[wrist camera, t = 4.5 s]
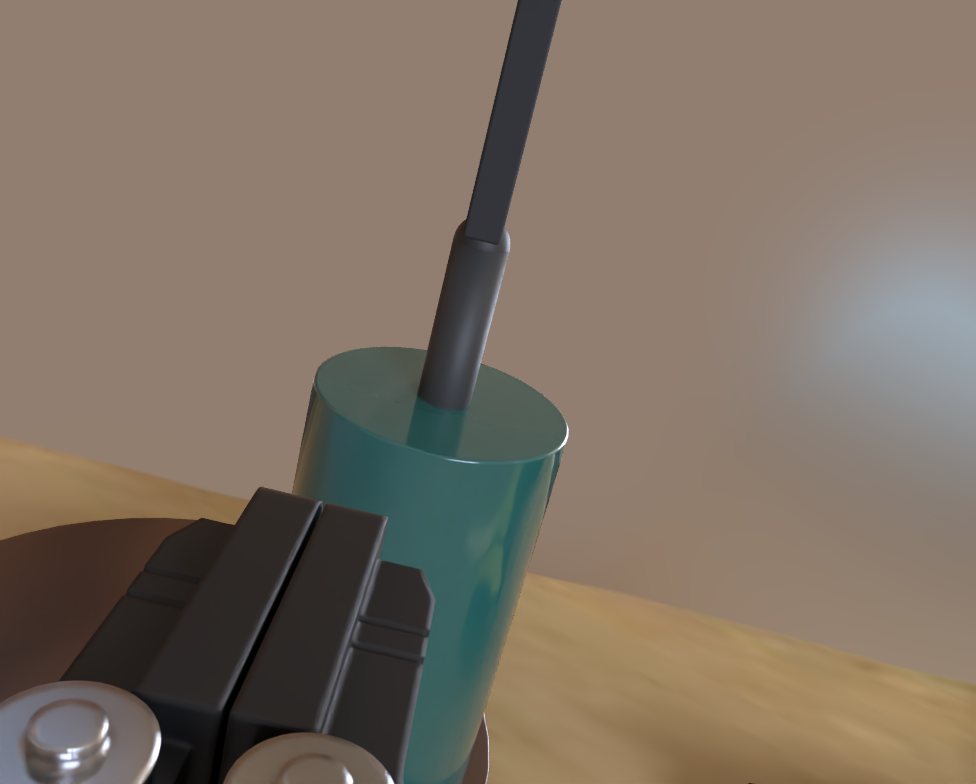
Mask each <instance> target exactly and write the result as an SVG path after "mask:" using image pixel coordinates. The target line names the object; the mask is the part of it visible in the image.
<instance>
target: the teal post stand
mask: <svg viewBox="0 0 976 784" xmlns="http://www.w3.org/2000/svg"><path fill="white" fill-rule="evenodd" d="M561 1H562V0H518V3H517V7H516V12H515V16H514V20H513V24H512V28H511V33H510V37H509V41H508V46H507V50H506V54H505V58H504V63H503V67H502V71H501V75H500V79H499V84H498V88H497V92H496V96H495V100H494V105H493V109H492V113H491V117H490V122H489V126H488V130H487V134H486V139H485V143H484V148H483V151H482V155H481V160H480V164H479V168H478V173H477V177H476V181H475V186H474V189H473V194H472V198H471V202H470V207H469V211H468V215H467V219H466V220H464V221H463V222H462V223H461V224H460V225H459V226H458V229H457V230H456V232H455V235H454V238H453V243H452V247H451V252H450V255H449V260H448V264H447V268H446V273H445V278H444V282H443V285H442V290H441V294H440V298H439V303H438V307H437V311H436V316H435V320H434V324H433V328H432V333H431V337H430V341H429V346H428V350H421V349H413V348H401V347H369V348H360V349H354V350H349V351H346V352H342V353H339V354H336V355H334V356H332V357H330V358H328V359H327V360H325V361H324V362H323V363H322V364H321V365H320V366H319V367H318V368H317V370H316V372H315V374H314V379H313V383H312V389H311V395H310V400H309V406H308V411H307V416H306V421H305V427H304V432H303V437H302V443H301V448H300V454H299V459H298V464H297V470H296V475H295V480H294V486H293V492H292V494H294V495H298V496H302V497H306V498H310V499H315V500H319V501H322V502H323V509H324V507H325V505H326V503H332V504H337V505H341V506H345V507H349V508H353V509H358V510H362V511H366V512H370V513H374V514H379V515H383V516H387V517H388V524H387V529H386V534H385V538H384V543H383V547H382V552H381V556H380V560H383V561H388V562H392V563H396V564H400V565H405V566H409V567H413V568H417V569H422V570H423V572H424V574H425V577H426V579H427V581H428V584H429V586H430V588H431V591H432V593H433V596H434V598H435V600H436V601H435V606H434V611H433V617H432V622H431V627H430V632H429V636H428V643H427V648H426V653H425V658H424V663H423V669H422V675H421V680H420V685H419V690H418V696H417V701H416V706H415V711H414V717H413V722H412V727H411V732H410V738H409V743H408V748H407V753H406V759H405V764H404V772H403V783H404V784H487V780H488V774H489V738H488V732H487V727H486V721H485V715H484V712H485V708H486V705H487V702H488V698H489V695H490V692H491V689H492V685H493V682H494V679H495V675H496V672H497V669H498V666H499V662H500V659H501V656H502V653H503V649H504V646H505V643H506V639H507V636H508V633H509V630H510V626H511V623H512V620H513V616H514V613H515V610H516V607H517V603H518V600H519V597H520V594H521V590H522V587H523V584H524V580H525V577H526V574H527V571H528V567H529V564H530V561H531V557H532V554H533V551H534V548H535V544H536V541H537V538H538V535H539V531H540V528H541V524H542V521H543V518H544V514H545V512H546V508H547V505H548V502H549V498H550V495H551V492H552V489H553V485H554V482H555V479H556V476H557V472H558V469H559V466H560V462H561V459H562V456H563V453H564V449H565V446H566V443H567V439H568V426H567V422H566V420H565V418H564V416H563V414H562V413H561V412H560V410H559V409H558V408H557V407H556V406H555V405H554V404H553V403H552V402H551V401H550V400H549V399H548V398H546V397H545V396H544V395H543V394H541V393H540V392H538V391H537V390H536V389H534V388H533V387H531V386H529V385H528V384H526V383H524V382H522V381H520V380H518V379H516V378H514V377H512V376H511V375H508V374H506V373H504V372H501V371H499V370H497V369H494V368H491V367H489V366H486V365H484V364H481V360H482V356H483V352H484V348H485V344H486V340H487V336H488V332H489V328H490V324H491V321H492V317H493V313H494V309H495V305H496V301H497V297H498V293H499V290H500V285H501V282H502V278H503V274H504V270H505V266H506V262H507V258H508V255H509V250H510V237H509V233H508V231H507V229H506V227H505V222H506V218H507V214H508V211H509V206H510V202H511V198H512V195H513V191H514V187H515V183H516V179H517V175H518V171H519V167H520V163H521V159H522V155H523V151H524V147H525V143H526V139H527V135H528V131H529V127H530V123H531V119H532V115H533V111H534V107H535V104H536V99H537V96H538V92H539V88H540V84H541V80H542V76H543V71H544V68H545V64H546V60H547V56H548V52H549V48H550V44H551V40H552V36H553V32H554V28H555V24H556V20H557V16H558V12H559V8H560V5H561ZM195 521H197V520H187V519H171V518H129V519H115V520H101V521H91V522H84V523H77V524H70V525H64V526H57V527H53V528H48V529H44V530H39V531H34V532H30V533H25V534H21V535H18V536H14V537H11V538H8V539H4V540H1V541H0V703H1V702H2V701H4V700H5V699H7V698H9V697H11V696H13V695H15V694H17V693H19V692H22V691H24V690H27V689H30V688H33V687H36V686H40V685H44V684H48V683H54V682H58V681H59V680H60V678H61V677H62V675H63V674H64V673H65V671H66V670H67V669H68V667H69V666H70V665H71V663H72V662H73V661H74V659H75V658H76V657H77V655H78V654H79V653H80V651H81V650H82V649H83V647H84V646H85V645H86V643H87V642H88V641H89V639H90V638H91V637H92V635H93V634H94V633H95V631H96V630H97V629H98V627H99V626H100V625H101V623H102V622H103V621H104V619H105V618H106V617H107V615H108V614H109V613H110V611H111V610H112V608H113V607H114V606H115V604H116V603H117V602H118V600H119V599H120V598H121V596H122V595H125V594H126V592H127V588H128V587H129V586H130V584H131V583H132V582H133V580H134V579H135V578H136V576H137V575H138V574H139V572H140V571H143V570H144V567H145V564H146V563H147V562H148V560H149V559H150V558H151V556H152V555H153V554H154V552H155V551H156V550H157V548H158V547H159V546H160V544H161V543H162V541H163V540H164V539H165V537H167V536H169V535H171V534H173V533H174V532H176V531H178V530H180V529H182V528H184V527H186V526H188V525H189V524H191V523H193V522H195ZM230 525H232V524H230ZM234 526H235V525H234Z"/></svg>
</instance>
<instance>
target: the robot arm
mask: <svg viewBox="0 0 976 784" xmlns="http://www.w3.org/2000/svg"><path fill="white" fill-rule="evenodd" d="M387 524H388V517H387V516H383V515H379V514H374V513H370V512H366V511H362V510H358V509H353V508H349V507H345V506H341V505H337V504H332V503H326V505H325V507H324V509H323V502H322V501H319V500H315V499H310V498H306V497H302V496H298V495H294V494H289V493H285V492H281V491H277V490H273V489H268V488H264V487H259V488H258V490H257V491H256V492H255V494H254V495H253V497H252V499H251V500H250V502H249V503H248V505H247V507H246V508H245V510H244V511H243V513H242V515H241V516H240V518H239V519H238V521H237V523H236V524H235V526H234V525H230V524H226V523H221V522H217V521H213V520H209V519H205V518H201V519H199V520H197V521H195V522H193V523H191V524H189V525H188V526H186V527H184V528H182V529H180V530H178V531H176V532H174V533H173V534H171V535H169V536H167V537H165V539H164V540H163V541H162V543H161V544H160V546H159V547H158V548H157V550H156V551H155V552H154V554H153V555H152V556H151V558H150V559H149V560H148V562H147V563H146V564H145V567H144V570H143V571H140V572H139V574H138V575H137V576H136V578H135V579H134V580H133V582H132V583H131V584H130V586H129V587H128V588H127V592H126V594H125V595H122V596H121V598H120V599H119V600H118V602H117V603H116V604H115V606H114V607H113V608H112V610H111V611H110V613H109V614H108V615H107V617H106V618H105V619H104V621H103V622H102V623H101V625H100V626H99V627H98V629H97V630H96V631H95V633H94V634H93V635H92V637H91V638H90V639H89V641H88V642H87V643H86V645H85V646H84V647H83V649H82V650H81V651H80V653H79V654H78V655H77V657H76V658H75V659H74V661H73V662H72V663H71V665H70V666H69V667H68V669H67V670H66V671H65V673H64V674H63V675H62V677H61V678H60V680H59V681H58V682H54V683H48V684H44V685H40V686H36V687H33V688H30V689H27V690H24V691H22V692H19V693H17V694H15V695H13V696H11V697H9V698H7V699H5V700H4V701H2V702H1V703H0V784H404V783H403V772H404V764H405V759H406V753H407V748H408V743H409V738H410V732H411V727H412V722H413V717H414V711H415V706H416V701H417V696H418V690H419V685H420V680H421V675H422V669H423V663H424V658H425V653H426V648H427V643H428V636H429V632H430V627H431V622H432V617H433V611H434V606H435V601H436V600H435V598H434V596H433V593H432V591H431V588H430V586H429V584H428V581H427V579H426V577H425V574H424V572H423V570H422V569H417V568H413V567H409V566H405V565H400V564H396V563H392V562H388V561H383V560H380V556H381V552H382V547H383V543H384V538H385V534H386V529H387Z"/></svg>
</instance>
